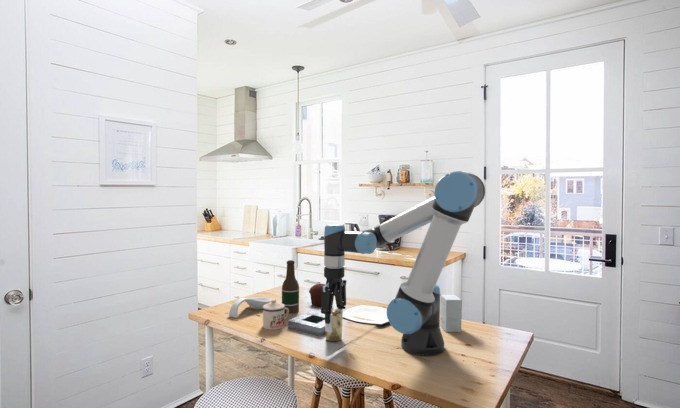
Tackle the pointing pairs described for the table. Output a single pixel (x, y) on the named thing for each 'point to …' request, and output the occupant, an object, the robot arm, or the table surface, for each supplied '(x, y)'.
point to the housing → (309, 323)
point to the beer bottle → (290, 289)
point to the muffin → (316, 295)
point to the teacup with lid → (274, 315)
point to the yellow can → (335, 327)
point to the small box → (450, 313)
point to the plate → (367, 314)
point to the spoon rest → (252, 302)
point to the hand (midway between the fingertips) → (333, 328)
